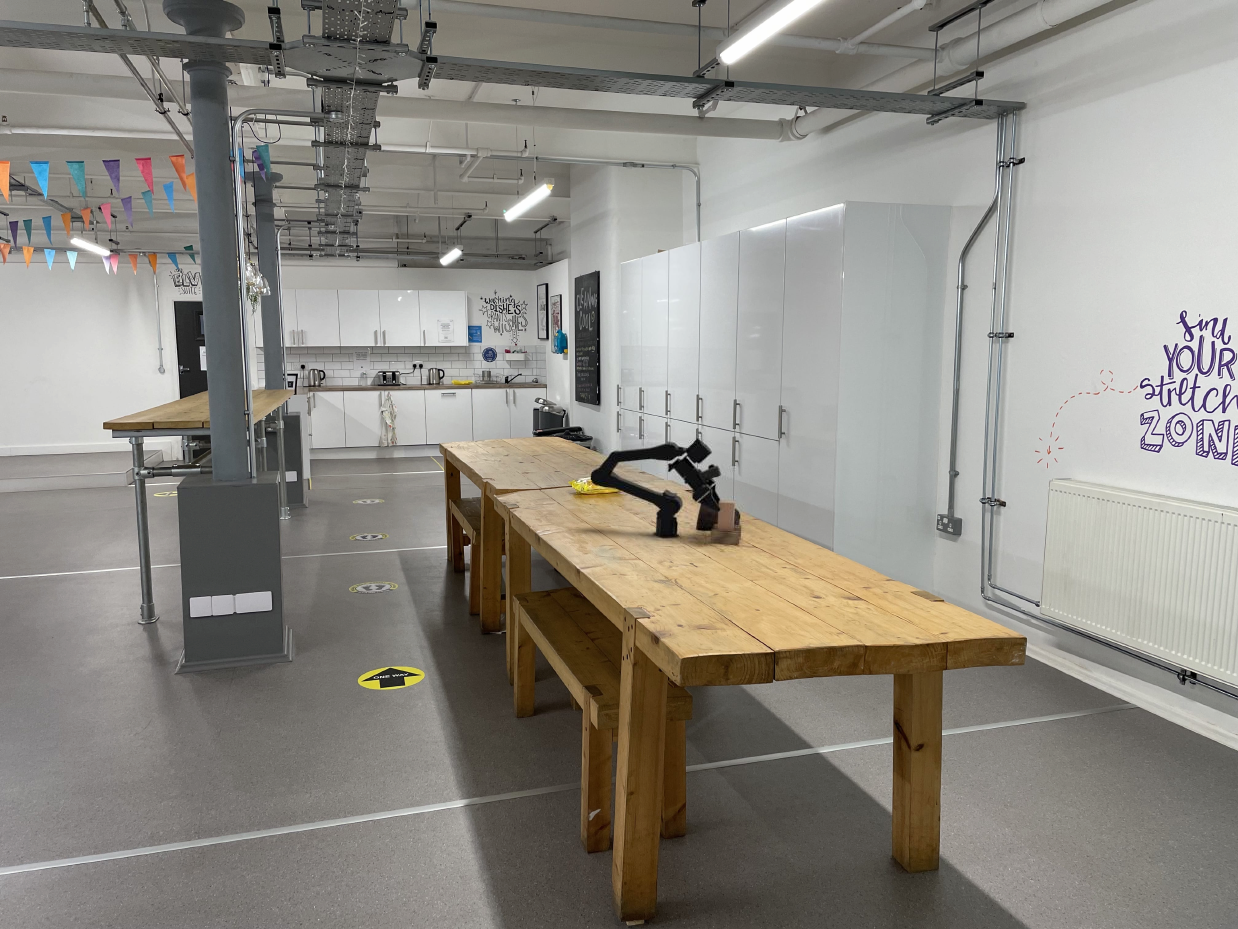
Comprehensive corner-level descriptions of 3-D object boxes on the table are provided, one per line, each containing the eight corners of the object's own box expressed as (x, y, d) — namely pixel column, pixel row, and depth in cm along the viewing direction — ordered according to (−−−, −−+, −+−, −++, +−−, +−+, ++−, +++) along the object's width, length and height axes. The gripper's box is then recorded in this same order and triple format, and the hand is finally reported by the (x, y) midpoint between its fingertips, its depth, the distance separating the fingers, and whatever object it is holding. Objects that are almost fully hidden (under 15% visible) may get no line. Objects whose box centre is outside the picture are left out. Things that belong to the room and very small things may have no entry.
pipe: (743, 504, 311) (702, 495, 312) (744, 514, 296) (701, 505, 297) (736, 529, 313) (696, 520, 314) (737, 541, 298) (695, 531, 299)
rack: (710, 543, 280) (710, 531, 279) (714, 534, 293) (714, 523, 292) (738, 545, 278) (738, 533, 278) (740, 536, 291) (741, 525, 290)
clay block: (717, 538, 284) (718, 502, 282) (718, 535, 288) (719, 500, 286) (732, 539, 283) (734, 503, 281) (733, 536, 287) (735, 501, 285)
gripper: (704, 460, 274) (737, 497, 273) (710, 453, 292) (741, 488, 292) (678, 483, 277) (711, 519, 276) (686, 475, 295) (716, 509, 294)
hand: (720, 508), depth 284 cm, fingers open, 9 cm apart
